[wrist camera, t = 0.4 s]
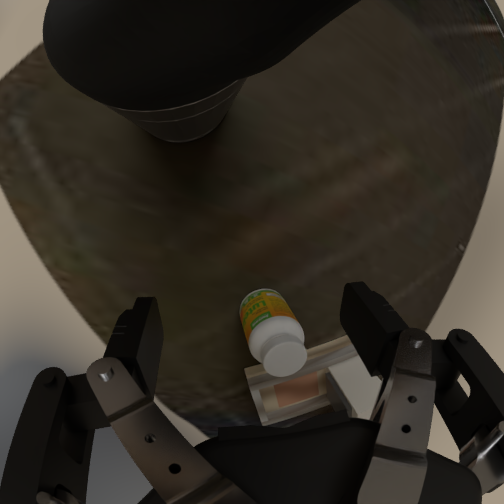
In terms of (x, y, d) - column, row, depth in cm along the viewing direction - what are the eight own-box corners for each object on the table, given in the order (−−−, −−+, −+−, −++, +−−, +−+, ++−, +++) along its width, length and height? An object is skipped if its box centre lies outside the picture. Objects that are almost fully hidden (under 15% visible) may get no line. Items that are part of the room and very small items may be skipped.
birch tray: (244, 368, 35) (248, 383, 32) (369, 326, 37) (380, 337, 34) (259, 413, 38) (263, 427, 35) (368, 374, 40) (376, 386, 37)
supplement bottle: (254, 279, 31) (278, 326, 22) (293, 299, 33) (326, 346, 24) (229, 317, 32) (243, 373, 23) (268, 334, 34) (291, 388, 25)
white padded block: (320, 364, 35) (352, 416, 26) (356, 350, 36) (394, 397, 26) (323, 392, 37) (351, 442, 28) (355, 379, 38) (388, 424, 28)
